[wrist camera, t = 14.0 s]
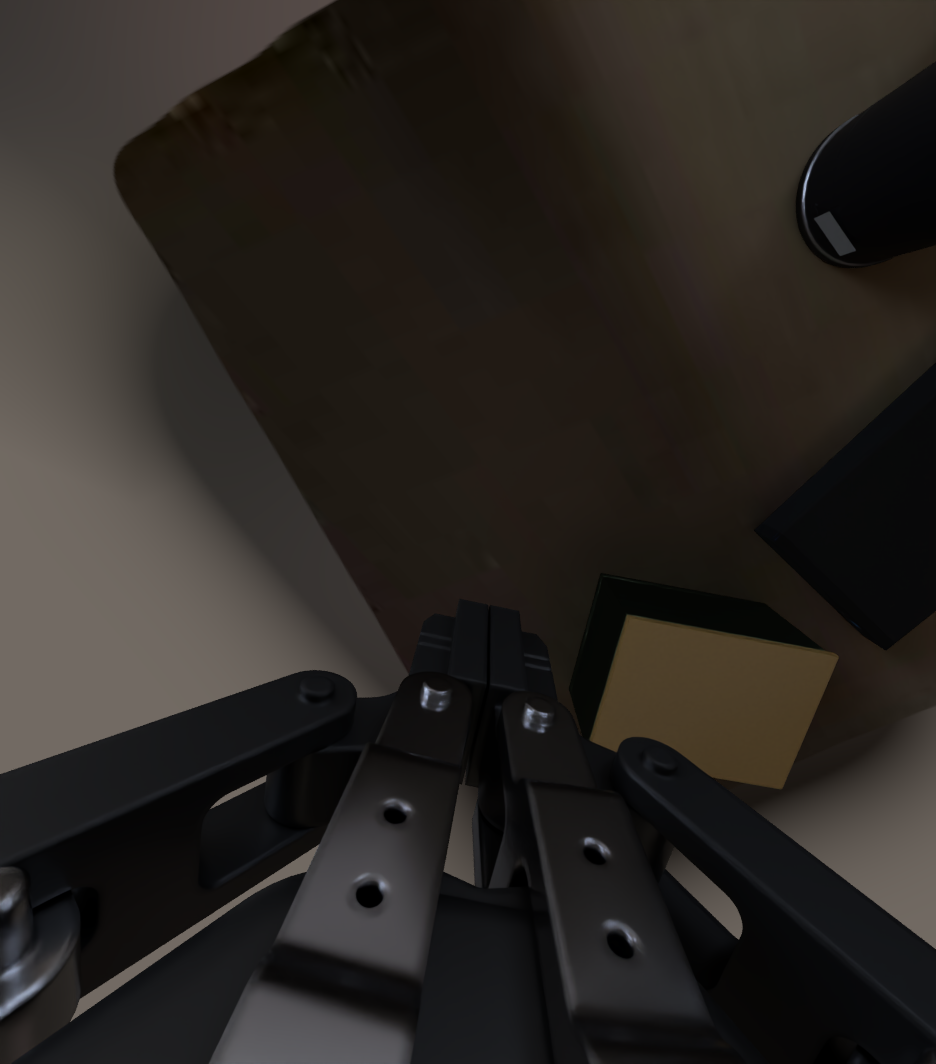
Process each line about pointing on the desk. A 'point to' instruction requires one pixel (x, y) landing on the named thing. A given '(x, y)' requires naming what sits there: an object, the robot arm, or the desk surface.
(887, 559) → the external hard drive
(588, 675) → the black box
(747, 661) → the tin lid
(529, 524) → the desk surface
